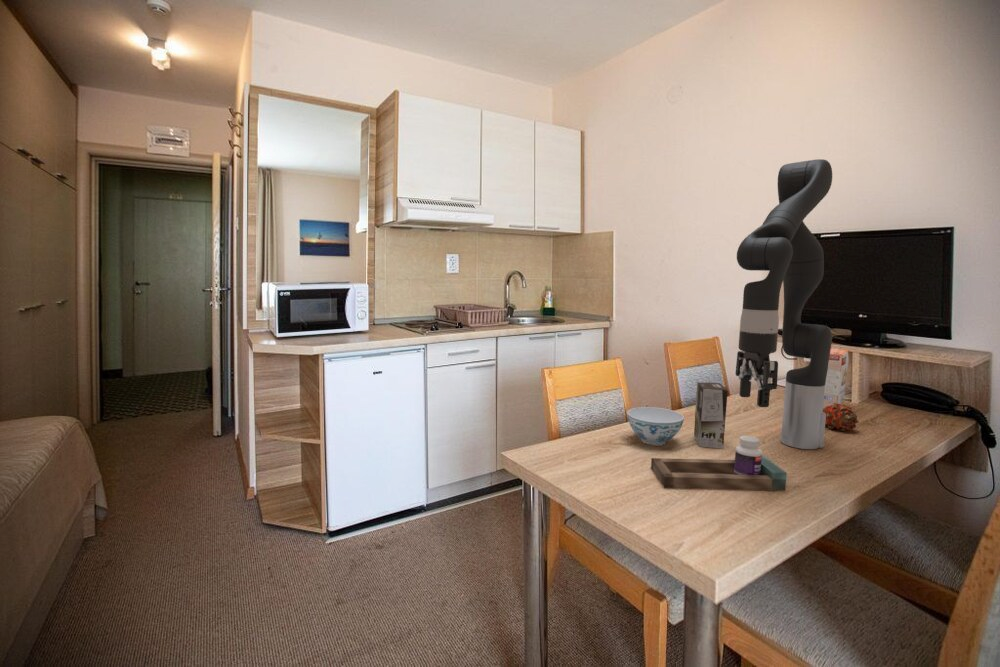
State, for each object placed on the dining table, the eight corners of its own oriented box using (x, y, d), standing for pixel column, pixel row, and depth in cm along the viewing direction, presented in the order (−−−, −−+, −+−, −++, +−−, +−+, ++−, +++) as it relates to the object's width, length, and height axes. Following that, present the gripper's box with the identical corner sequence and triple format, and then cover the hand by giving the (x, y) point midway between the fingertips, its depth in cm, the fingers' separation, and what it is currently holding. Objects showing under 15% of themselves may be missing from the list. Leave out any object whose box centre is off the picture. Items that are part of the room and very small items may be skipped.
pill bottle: (758, 486, 111) (761, 444, 110) (731, 481, 114) (734, 439, 113) (760, 478, 116) (764, 437, 115) (735, 473, 119) (738, 433, 118)
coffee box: (724, 449, 135) (728, 389, 133) (698, 447, 136) (702, 388, 134) (717, 438, 144) (720, 382, 142) (693, 436, 145) (696, 381, 143)
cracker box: (837, 416, 166) (844, 354, 164) (816, 413, 170) (822, 352, 167) (844, 408, 177) (850, 349, 174) (824, 405, 181) (830, 347, 178)
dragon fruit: (855, 440, 147) (817, 434, 159) (871, 421, 150) (832, 416, 161) (842, 418, 146) (804, 413, 157) (858, 399, 148) (819, 395, 159)
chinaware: (621, 432, 148) (622, 406, 147) (672, 433, 148) (674, 407, 147) (632, 450, 133) (634, 422, 132) (690, 451, 133) (691, 423, 132)
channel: (760, 470, 120) (761, 454, 120) (785, 490, 110) (786, 472, 109) (651, 468, 121) (651, 452, 121) (664, 487, 110) (665, 470, 110)
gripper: (793, 334, 104) (787, 410, 106) (760, 326, 118) (755, 394, 120) (756, 333, 104) (751, 410, 106) (727, 325, 118) (723, 393, 120)
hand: (753, 401), depth 113 cm, fingers open, 8 cm apart
